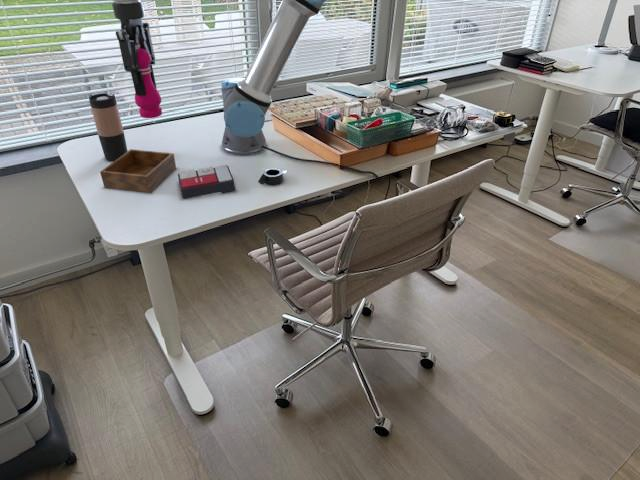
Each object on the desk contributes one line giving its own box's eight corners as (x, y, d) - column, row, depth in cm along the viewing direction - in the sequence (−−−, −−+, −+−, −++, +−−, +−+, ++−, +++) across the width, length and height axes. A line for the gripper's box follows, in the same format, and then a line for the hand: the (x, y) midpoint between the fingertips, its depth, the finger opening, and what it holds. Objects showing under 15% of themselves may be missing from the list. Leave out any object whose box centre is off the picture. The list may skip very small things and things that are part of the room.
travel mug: (106, 163, 148) (89, 102, 137) (103, 155, 153) (87, 95, 142) (131, 159, 151) (116, 98, 140) (127, 151, 156) (113, 92, 145)
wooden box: (176, 168, 146) (173, 153, 143) (150, 193, 132) (146, 176, 129) (134, 164, 148) (130, 149, 145) (104, 188, 134) (99, 171, 131)
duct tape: (292, 185, 138) (291, 176, 136) (259, 188, 136) (258, 179, 134) (286, 173, 144) (286, 165, 142) (254, 177, 142) (254, 168, 140)
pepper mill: (167, 110, 138) (153, 39, 127) (158, 119, 132) (143, 45, 121) (144, 110, 139) (128, 39, 127) (134, 118, 133) (117, 45, 121)
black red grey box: (177, 171, 136) (227, 162, 140) (180, 184, 138) (229, 175, 142) (180, 187, 127) (233, 178, 131) (183, 201, 130) (235, 191, 134)
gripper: (131, -4, 127) (149, 81, 140) (93, 6, 112) (117, 101, 125) (157, -4, 126) (172, 83, 139) (121, 6, 110) (143, 102, 124)
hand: (146, 91), depth 132 cm, fingers closed on pepper mill, 6 cm apart
